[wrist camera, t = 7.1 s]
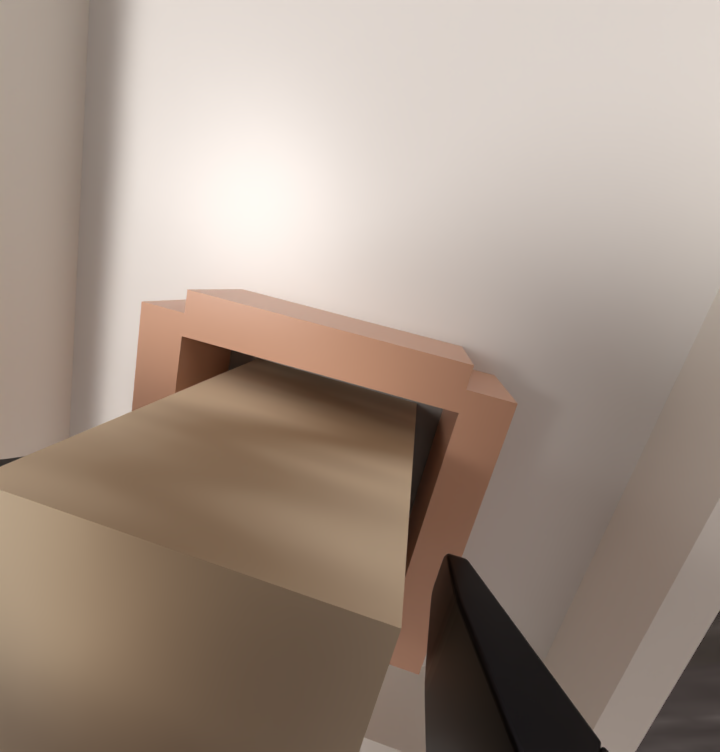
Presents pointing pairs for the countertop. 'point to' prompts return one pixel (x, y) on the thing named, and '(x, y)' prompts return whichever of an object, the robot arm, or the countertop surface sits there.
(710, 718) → the countertop surface
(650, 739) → the countertop surface
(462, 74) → the walled box
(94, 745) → the tan block
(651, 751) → the countertop surface
